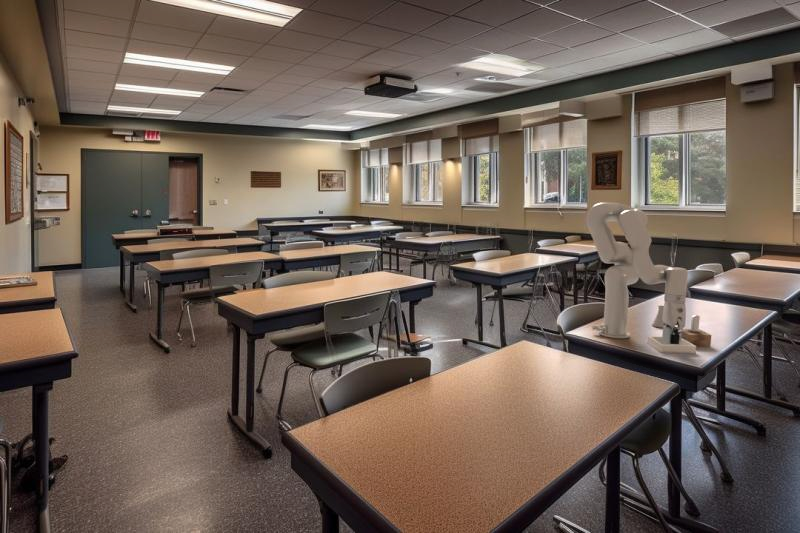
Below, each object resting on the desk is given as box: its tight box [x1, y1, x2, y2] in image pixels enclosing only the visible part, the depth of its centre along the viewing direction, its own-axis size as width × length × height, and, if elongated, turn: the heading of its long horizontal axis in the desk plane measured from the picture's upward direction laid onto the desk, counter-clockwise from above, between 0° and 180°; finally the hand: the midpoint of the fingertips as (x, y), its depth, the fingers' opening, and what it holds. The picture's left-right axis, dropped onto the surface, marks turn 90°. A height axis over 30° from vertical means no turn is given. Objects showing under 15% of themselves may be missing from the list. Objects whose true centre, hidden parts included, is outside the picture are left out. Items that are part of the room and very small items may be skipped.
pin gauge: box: [690, 314, 701, 333], centre depth 204 cm, size 3×3×12 cm
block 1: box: [661, 327, 682, 345], centre depth 197 cm, size 5×5×6 cm
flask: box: [651, 305, 664, 329], centre depth 231 cm, size 7×7×10 cm
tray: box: [646, 335, 697, 355], centre depth 197 cm, size 13×13×3 cm
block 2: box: [681, 328, 712, 348], centre depth 204 cm, size 9×9×5 cm
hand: (671, 341), depth 197 cm, fingers closed on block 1, 4 cm apart
